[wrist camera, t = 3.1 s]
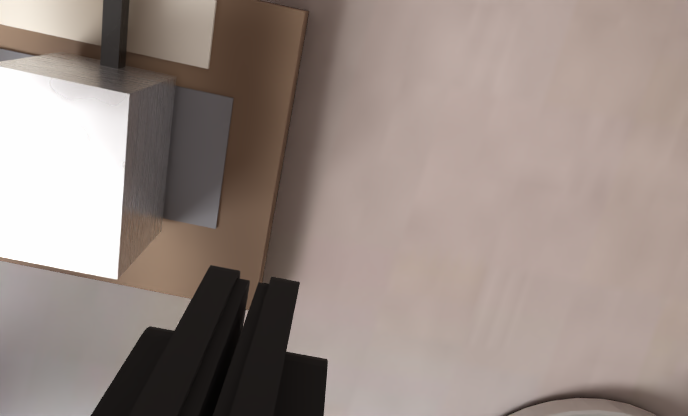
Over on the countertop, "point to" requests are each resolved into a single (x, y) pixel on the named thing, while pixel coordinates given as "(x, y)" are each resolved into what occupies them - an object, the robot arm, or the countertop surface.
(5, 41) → the base
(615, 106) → the countertop surface
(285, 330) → the robot arm
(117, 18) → the gauge slider
